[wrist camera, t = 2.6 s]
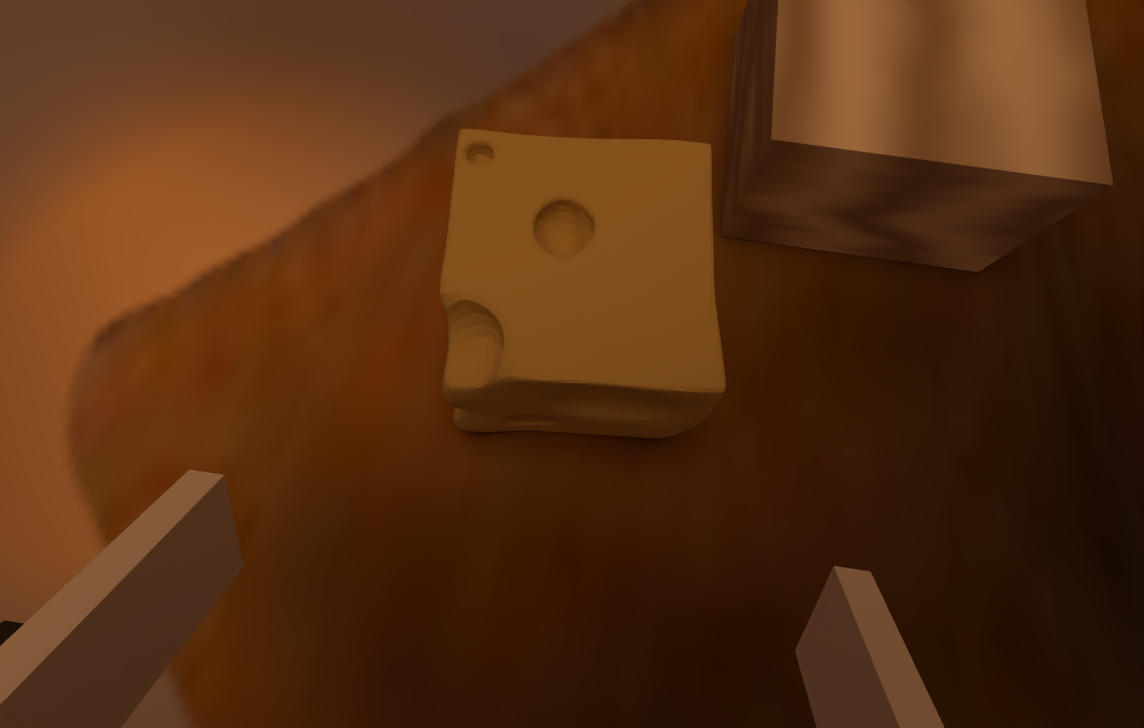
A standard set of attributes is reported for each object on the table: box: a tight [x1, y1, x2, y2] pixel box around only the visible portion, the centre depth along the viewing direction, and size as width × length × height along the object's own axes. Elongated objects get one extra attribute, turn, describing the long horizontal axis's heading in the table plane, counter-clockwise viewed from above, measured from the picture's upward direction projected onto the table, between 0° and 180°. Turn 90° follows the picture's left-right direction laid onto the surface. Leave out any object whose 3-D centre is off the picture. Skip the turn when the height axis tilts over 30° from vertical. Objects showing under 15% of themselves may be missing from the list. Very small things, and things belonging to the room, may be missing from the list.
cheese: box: [440, 129, 726, 439], centre depth 25 cm, size 10×11×10 cm
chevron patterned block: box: [720, 0, 1113, 272], centre depth 30 cm, size 14×14×8 cm
